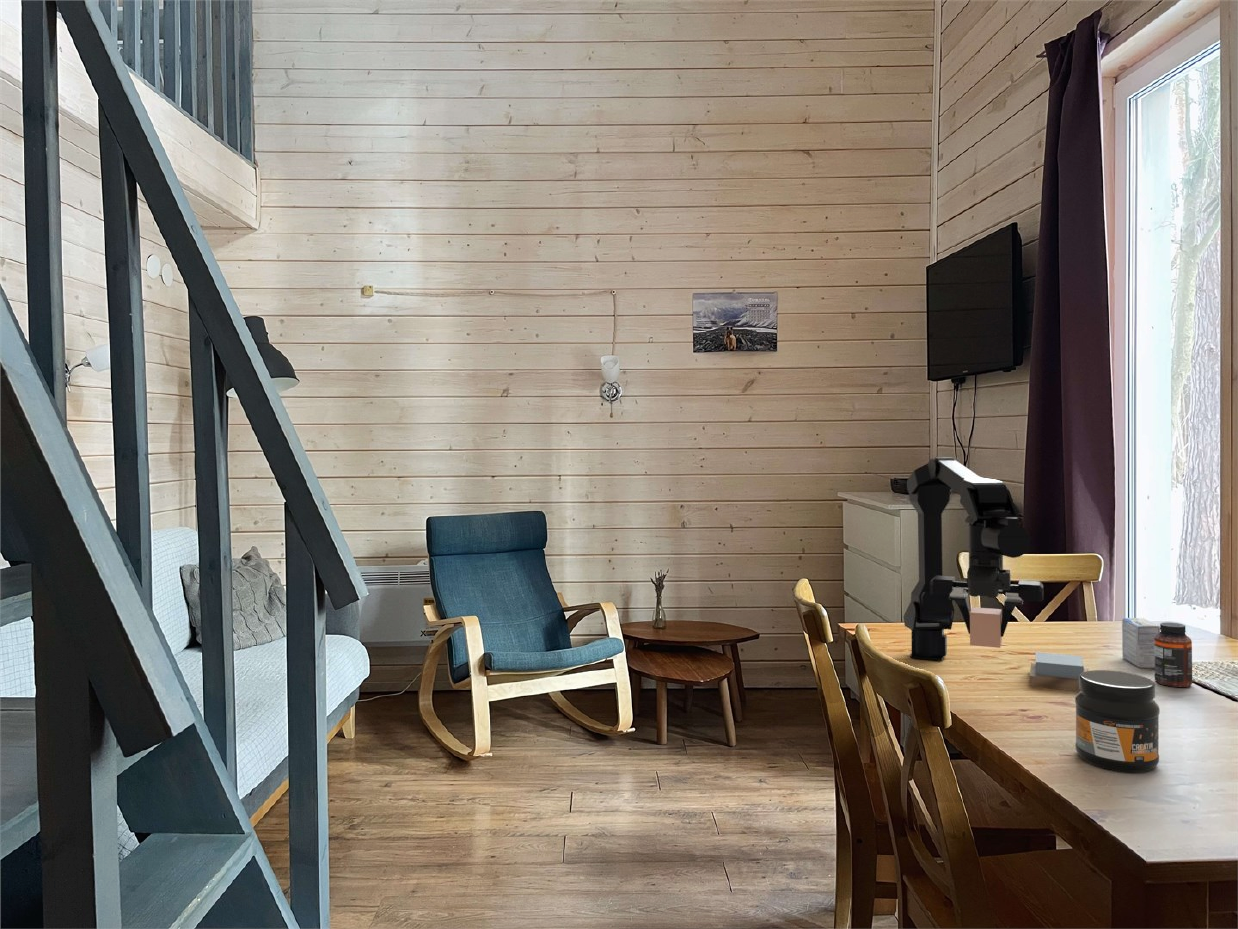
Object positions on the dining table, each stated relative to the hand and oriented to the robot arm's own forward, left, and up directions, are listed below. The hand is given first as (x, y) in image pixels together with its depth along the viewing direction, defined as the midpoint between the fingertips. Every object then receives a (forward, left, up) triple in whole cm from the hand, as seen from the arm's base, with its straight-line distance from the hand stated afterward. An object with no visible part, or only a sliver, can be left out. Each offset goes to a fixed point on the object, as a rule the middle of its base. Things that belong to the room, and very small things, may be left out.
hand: (985, 635), depth 152 cm
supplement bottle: (+31, +21, -11) cm, 39 cm away
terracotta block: (0, 0, -2) cm, 2 cm away
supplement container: (+19, -26, -11) cm, 34 cm away
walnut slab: (+12, +14, -12) cm, 22 cm away
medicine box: (+27, +35, -11) cm, 46 cm away
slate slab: (+12, +14, -9) cm, 21 cm away
